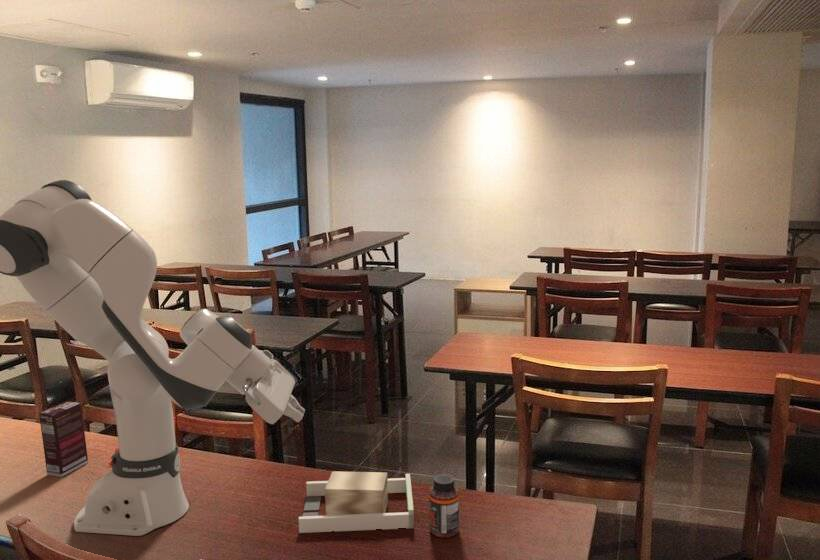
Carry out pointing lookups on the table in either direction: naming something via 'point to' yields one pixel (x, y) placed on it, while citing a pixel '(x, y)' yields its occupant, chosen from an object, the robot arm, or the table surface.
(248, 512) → the table surface
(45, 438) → the supplement box
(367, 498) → the birch block
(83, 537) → the table surface
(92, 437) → the table surface
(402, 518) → the box
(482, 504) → the table surface
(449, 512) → the supplement bottle
